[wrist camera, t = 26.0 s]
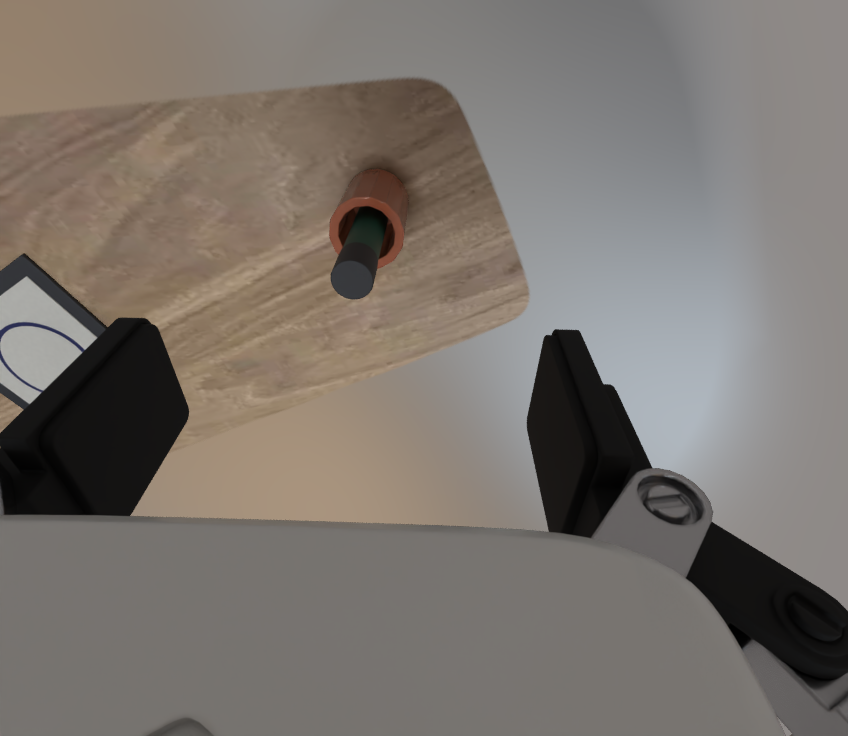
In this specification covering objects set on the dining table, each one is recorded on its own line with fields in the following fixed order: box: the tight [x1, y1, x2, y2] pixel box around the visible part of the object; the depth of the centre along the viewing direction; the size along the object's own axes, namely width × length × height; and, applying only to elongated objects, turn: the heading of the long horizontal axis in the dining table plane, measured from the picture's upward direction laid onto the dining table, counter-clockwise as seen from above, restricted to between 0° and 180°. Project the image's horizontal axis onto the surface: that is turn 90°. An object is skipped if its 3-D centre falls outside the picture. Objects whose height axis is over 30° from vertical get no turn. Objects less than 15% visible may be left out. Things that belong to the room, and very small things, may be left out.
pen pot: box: [329, 169, 409, 268], centre depth 33 cm, size 5×5×7 cm
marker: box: [331, 206, 388, 299], centre depth 31 cm, size 2×2×13 cm
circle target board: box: [0, 254, 107, 409], centre depth 46 cm, size 16×16×1 cm
